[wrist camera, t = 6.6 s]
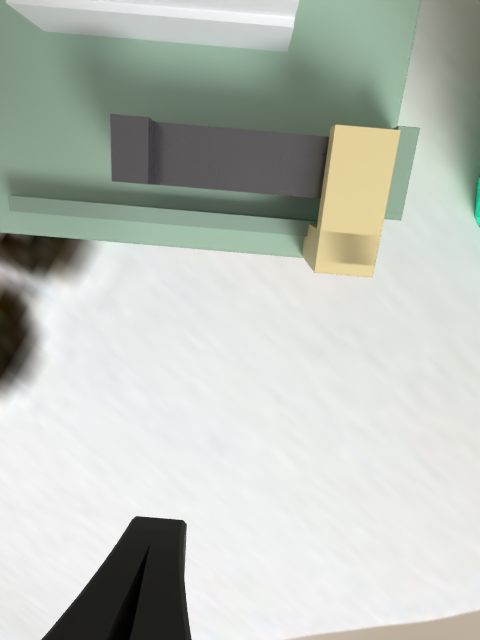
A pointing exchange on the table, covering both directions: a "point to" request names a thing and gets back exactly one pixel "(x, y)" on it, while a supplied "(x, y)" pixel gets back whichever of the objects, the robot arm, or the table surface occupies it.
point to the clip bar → (216, 157)
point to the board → (206, 119)
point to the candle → (478, 203)
